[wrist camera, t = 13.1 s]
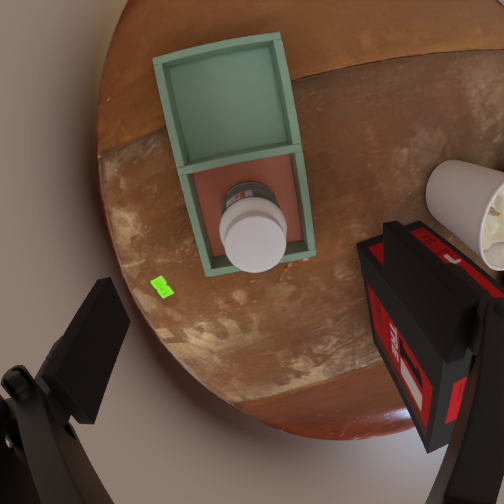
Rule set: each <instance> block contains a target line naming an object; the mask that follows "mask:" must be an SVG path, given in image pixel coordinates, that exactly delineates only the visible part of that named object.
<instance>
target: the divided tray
mask: <svg viewBox="0 0 504 504" xmlns="http://www.w3.org/2000/svg"><path fill="white" fill-rule="evenodd" d="M281 39H282V38H281V34H280V32H274V33H266V34H259V35H252V36H246V37H240V38H234V39H228V40H223V41H218V42H213V43H209V44H204V45H200V46H195V47H191V48H187V49H183V50H179V51H176V52H172V53H168V54H165V55H161V56H158V57H154V58H152V60H153V65H154V70H155V75H156V80H157V85H158V89H159V94H160V99H161V103H162V108H163V112H164V117H165V121H166V125H167V130H168V134H169V138H170V143H171V147H172V151H173V155H174V159H175V163H176V167H177V171H178V175H179V179H180V183H181V187H182V191H183V195H184V199H185V203H186V206H187V210H188V214H189V218H190V221H191V225H192V229H193V232H194V236H195V240H196V243H197V247H198V250H199V254H200V257H201V261H202V264H203V268H204V270H205V275H206V277H210V276H215V275H221V274H226V273H231V272H237V271H242V270H241V269H239V268H237V267H236V266H234V265H233V264H232V263H231V261H230V260H229V259H228V257H227V255H226V252H225V247H224V245H223V243H222V241H221V238H220V232H219V226H220V216H221V206H222V201H223V198H224V196H225V194H226V192H227V191H228V190H229V189H230V188H231V187H232V186H233V185H235V184H236V183H238V182H241V181H245V180H254V181H259V182H261V183H263V184H265V185H267V186H268V187H269V188H270V189H271V190H272V191H273V193H274V195H275V197H276V199H277V201H278V203H279V206H280V208H281V210H282V212H283V214H284V217H285V219H286V224H287V235H286V249H285V252H284V255H283V257H282V258H281V260H280V261H279V262H278V263H283V262H289V261H294V260H299V259H304V258H309V257H314V256H317V254H316V246H315V237H314V229H313V221H312V213H311V205H310V198H309V190H308V183H307V176H306V170H305V163H304V157H303V152H302V151H303V150H302V144H301V137H300V131H299V126H298V120H297V114H296V108H295V103H294V97H293V92H292V87H291V82H290V77H289V72H288V67H287V62H286V57H285V52H284V47H283V43H282V40H281ZM278 263H277V264H278Z"/></svg>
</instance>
